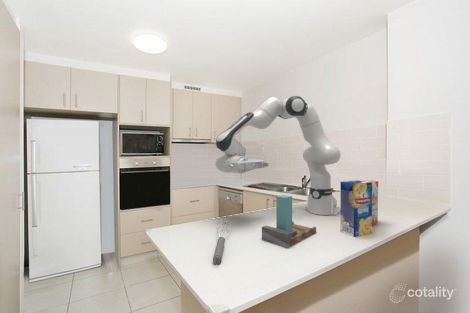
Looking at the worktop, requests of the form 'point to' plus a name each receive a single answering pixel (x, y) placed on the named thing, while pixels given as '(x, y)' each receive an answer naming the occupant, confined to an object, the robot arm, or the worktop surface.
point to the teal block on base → (284, 213)
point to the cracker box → (374, 201)
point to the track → (286, 235)
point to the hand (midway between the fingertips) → (261, 165)
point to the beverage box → (356, 208)
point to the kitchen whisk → (219, 246)
